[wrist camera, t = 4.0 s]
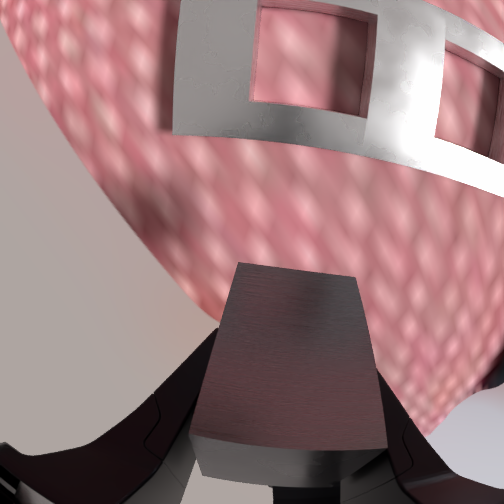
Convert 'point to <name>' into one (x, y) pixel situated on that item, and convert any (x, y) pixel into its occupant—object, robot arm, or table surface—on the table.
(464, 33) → the metal plate with holes
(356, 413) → the dark grey block
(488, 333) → the table surface
